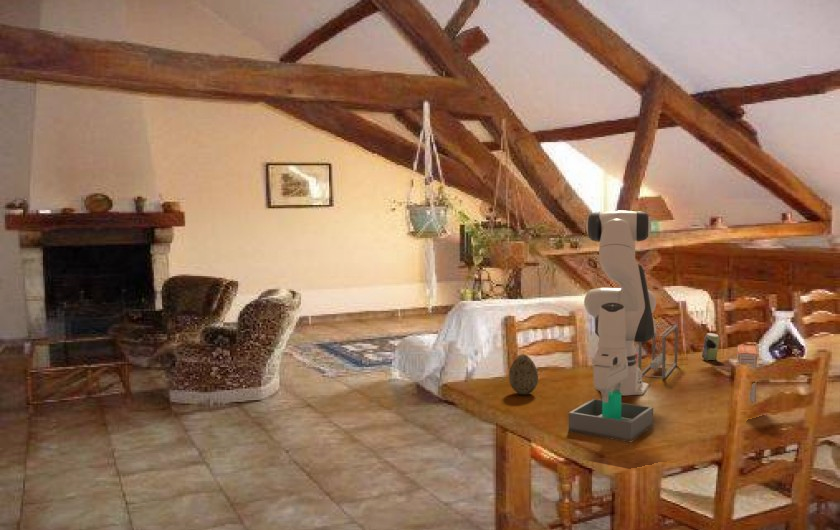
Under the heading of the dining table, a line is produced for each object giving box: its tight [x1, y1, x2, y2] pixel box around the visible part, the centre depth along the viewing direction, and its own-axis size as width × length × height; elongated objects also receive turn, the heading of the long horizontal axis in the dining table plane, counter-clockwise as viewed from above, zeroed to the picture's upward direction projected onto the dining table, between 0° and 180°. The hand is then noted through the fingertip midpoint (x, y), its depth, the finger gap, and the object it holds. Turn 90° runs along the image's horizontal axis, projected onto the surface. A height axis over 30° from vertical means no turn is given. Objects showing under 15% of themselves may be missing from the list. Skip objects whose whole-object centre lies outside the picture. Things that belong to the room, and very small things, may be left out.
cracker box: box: [736, 344, 758, 403], centre depth 263 cm, size 14×6×21 cm, turn 159°
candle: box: [602, 391, 622, 420], centre depth 243 cm, size 6×6×12 cm
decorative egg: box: [508, 353, 539, 396], centre depth 286 cm, size 11×11×15 cm
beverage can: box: [701, 332, 720, 361], centre depth 341 cm, size 6×7×12 cm
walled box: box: [568, 398, 654, 442], centre depth 243 cm, size 20×20×6 cm
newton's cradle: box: [637, 324, 679, 380], centre depth 321 cm, size 30×10×18 cm, turn 152°
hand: (611, 398), depth 243 cm, fingers open, 8 cm apart
